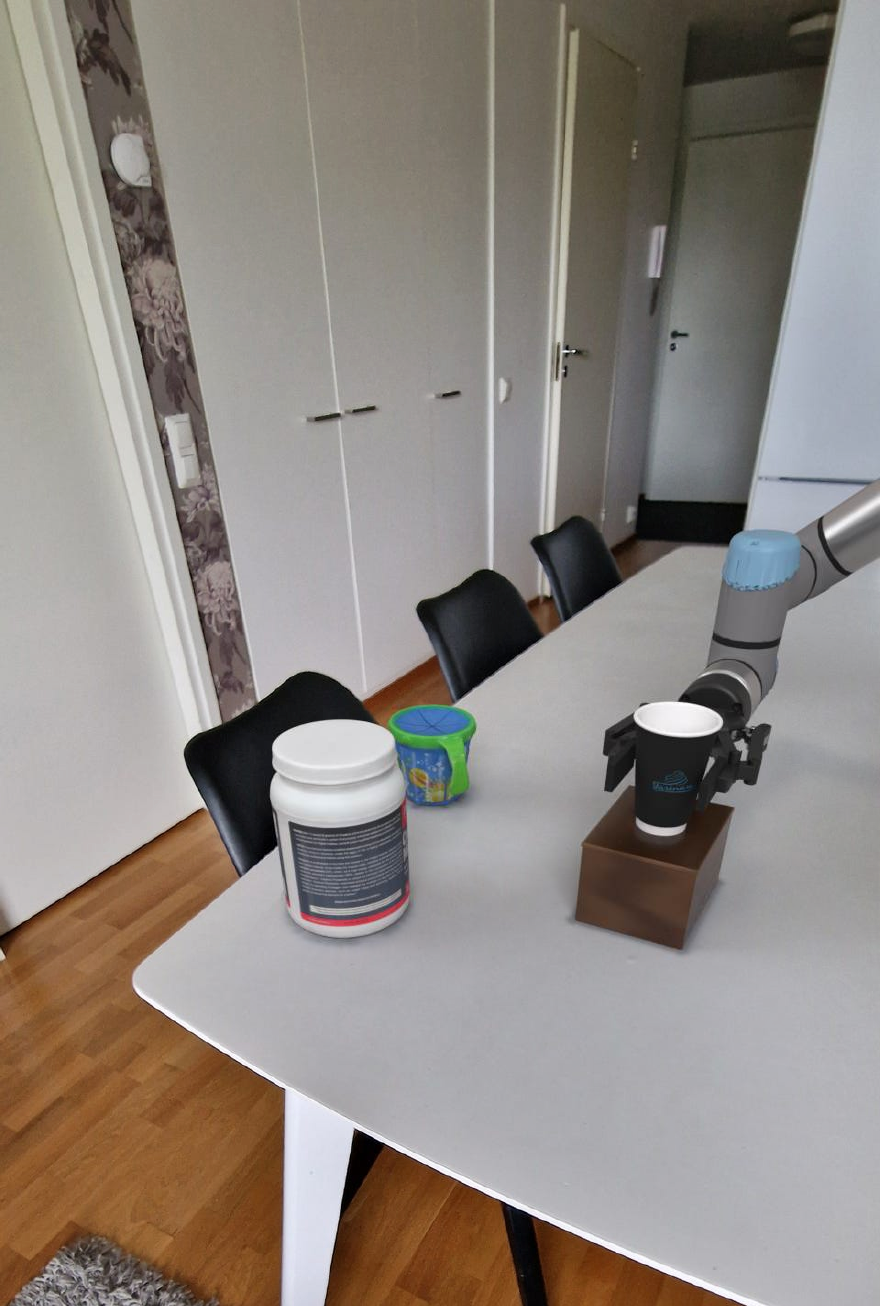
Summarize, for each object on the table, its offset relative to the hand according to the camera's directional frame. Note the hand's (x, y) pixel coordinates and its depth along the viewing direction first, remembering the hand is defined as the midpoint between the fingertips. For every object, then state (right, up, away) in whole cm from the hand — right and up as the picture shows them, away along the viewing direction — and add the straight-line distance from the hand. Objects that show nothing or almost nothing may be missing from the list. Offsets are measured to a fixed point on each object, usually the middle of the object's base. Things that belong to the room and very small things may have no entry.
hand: (654, 787), depth 76 cm
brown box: (+2, -10, +12) cm, 16 cm away
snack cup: (-20, +5, +33) cm, 39 cm away
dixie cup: (+2, -2, +7) cm, 8 cm away
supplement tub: (-29, -11, +12) cm, 33 cm away
